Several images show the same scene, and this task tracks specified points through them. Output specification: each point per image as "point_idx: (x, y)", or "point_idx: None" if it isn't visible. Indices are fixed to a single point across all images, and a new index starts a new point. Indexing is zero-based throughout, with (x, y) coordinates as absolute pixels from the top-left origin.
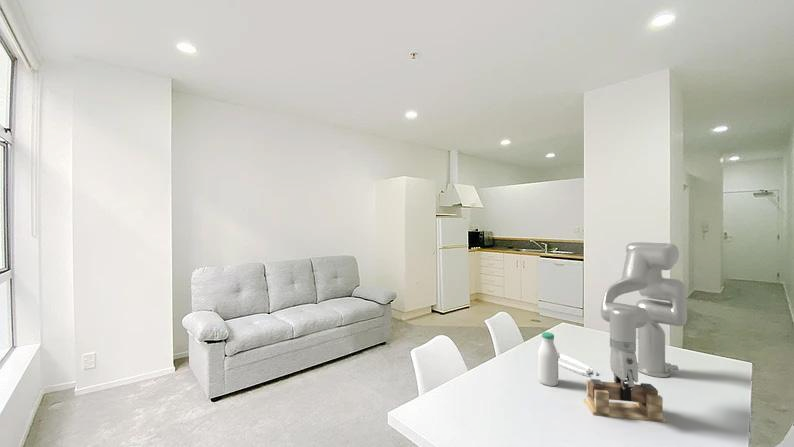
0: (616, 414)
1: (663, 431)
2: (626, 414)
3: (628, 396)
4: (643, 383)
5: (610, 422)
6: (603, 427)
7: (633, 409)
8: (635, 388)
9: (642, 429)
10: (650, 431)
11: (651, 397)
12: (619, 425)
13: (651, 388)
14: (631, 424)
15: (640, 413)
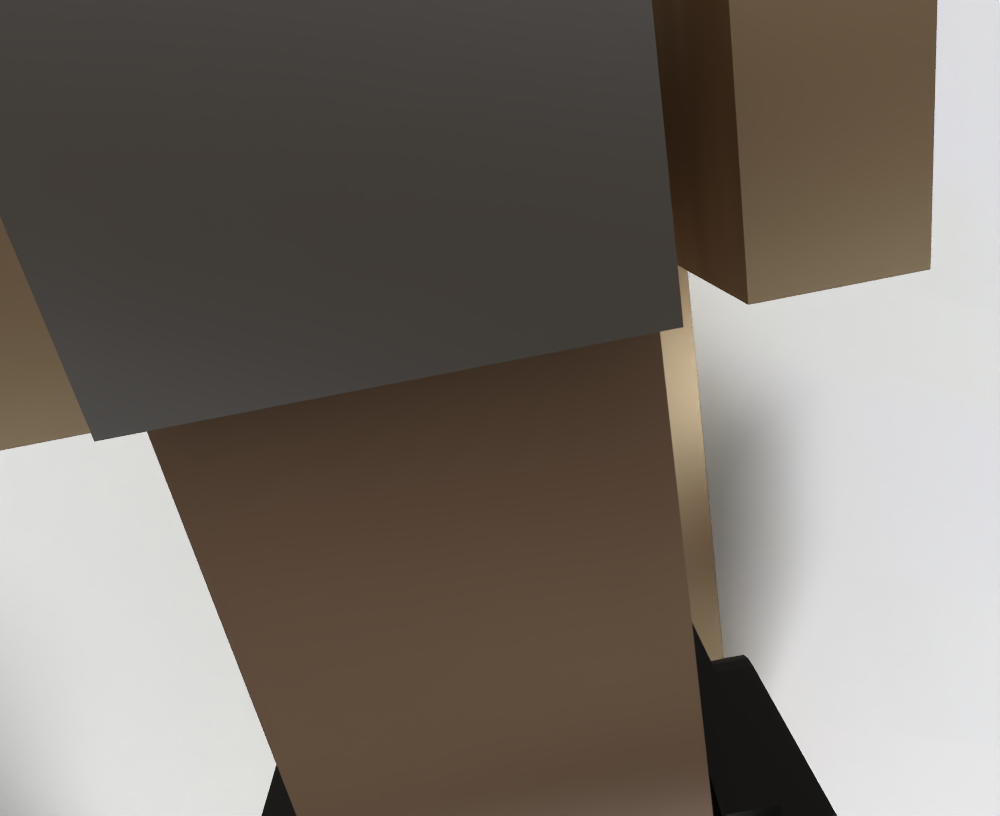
0: (722, 652)
1: (961, 61)
2: (686, 530)
3: (767, 715)
4: (67, 303)
5: (860, 704)
6: (989, 780)
7: None
8: (669, 684)
9: (957, 372)
10: (994, 275)
11: (904, 168)
12: (910, 624)
13: (644, 22)
14: (851, 482)
15: None
